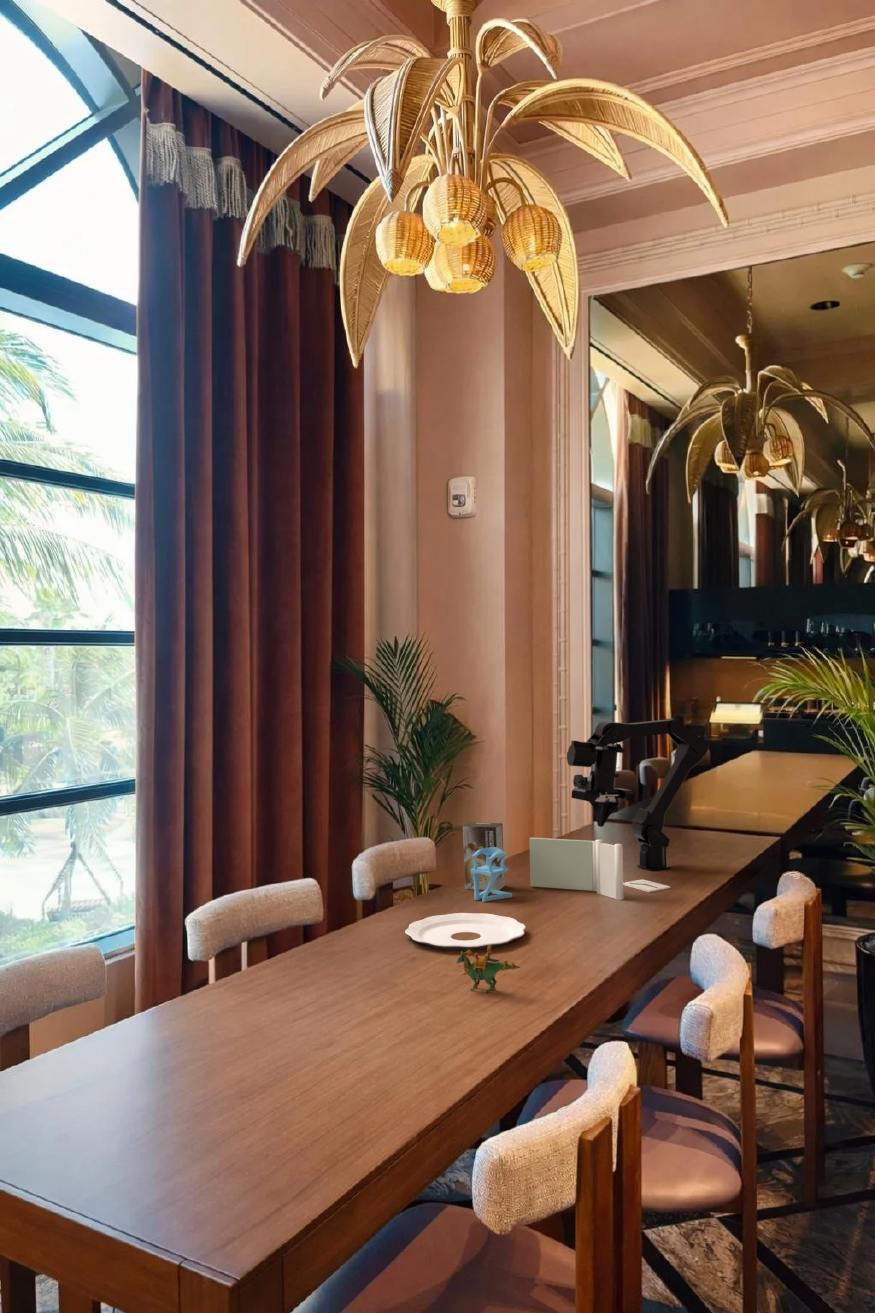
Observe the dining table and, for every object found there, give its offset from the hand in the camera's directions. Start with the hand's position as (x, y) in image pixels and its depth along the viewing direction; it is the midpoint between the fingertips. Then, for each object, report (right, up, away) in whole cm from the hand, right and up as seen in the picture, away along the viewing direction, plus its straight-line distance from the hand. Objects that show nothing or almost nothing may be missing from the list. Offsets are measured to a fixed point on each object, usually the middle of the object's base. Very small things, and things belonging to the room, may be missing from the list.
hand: (600, 826), depth 265 cm
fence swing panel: (-12, -12, -19) cm, 25 cm away
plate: (-38, -14, -58) cm, 70 cm away
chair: (-31, -13, -25) cm, 42 cm away
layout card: (+8, -12, -18) cm, 23 cm away
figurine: (-35, -13, -92) cm, 99 cm away
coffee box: (-32, -13, -15) cm, 37 cm away
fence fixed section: (-2, -12, -27) cm, 29 cm away
